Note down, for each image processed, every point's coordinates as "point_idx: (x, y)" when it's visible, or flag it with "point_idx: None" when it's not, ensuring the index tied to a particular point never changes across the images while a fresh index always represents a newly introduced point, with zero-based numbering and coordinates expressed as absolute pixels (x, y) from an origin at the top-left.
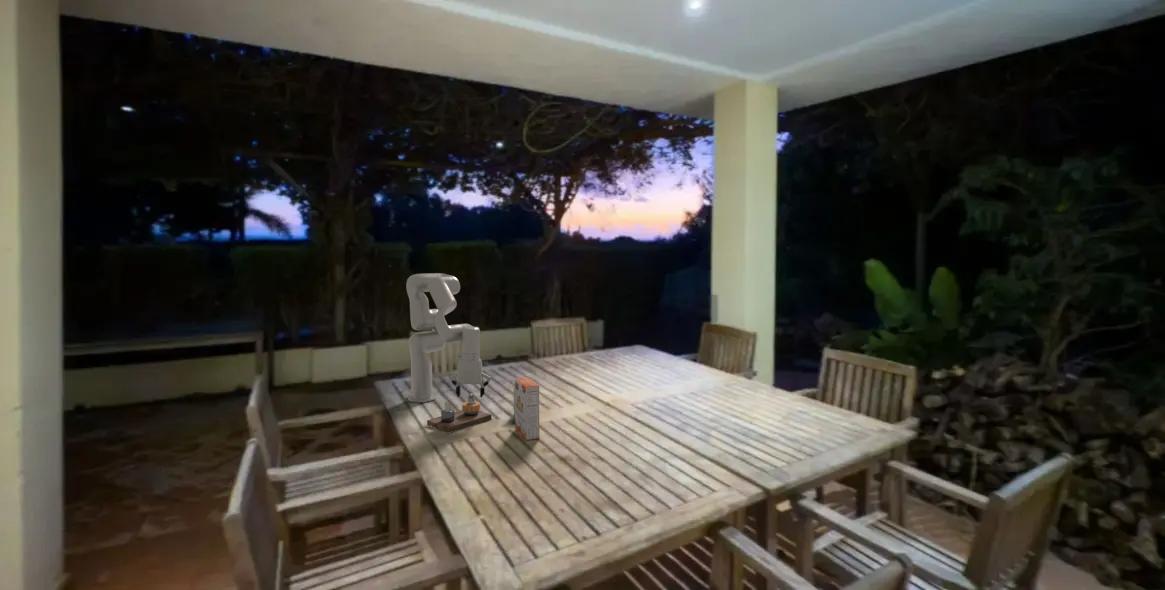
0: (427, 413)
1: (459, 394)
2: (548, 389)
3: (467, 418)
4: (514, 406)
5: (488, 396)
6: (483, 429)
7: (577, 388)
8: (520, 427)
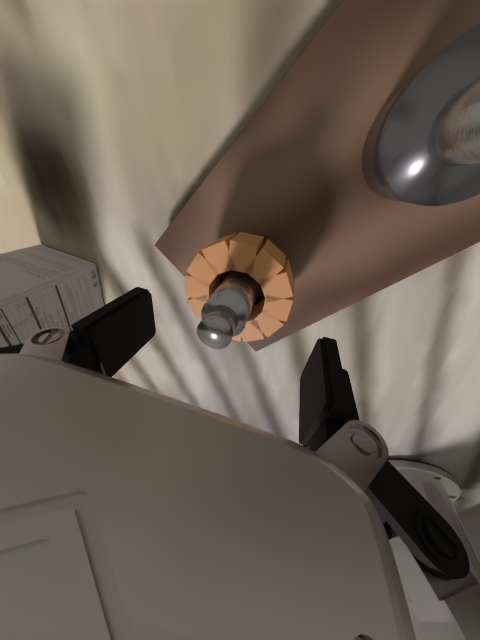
0: (441, 374)
1: (312, 359)
2: None
3: (269, 189)
4: (58, 276)
5: None
6: (169, 16)
7: None
8: None
